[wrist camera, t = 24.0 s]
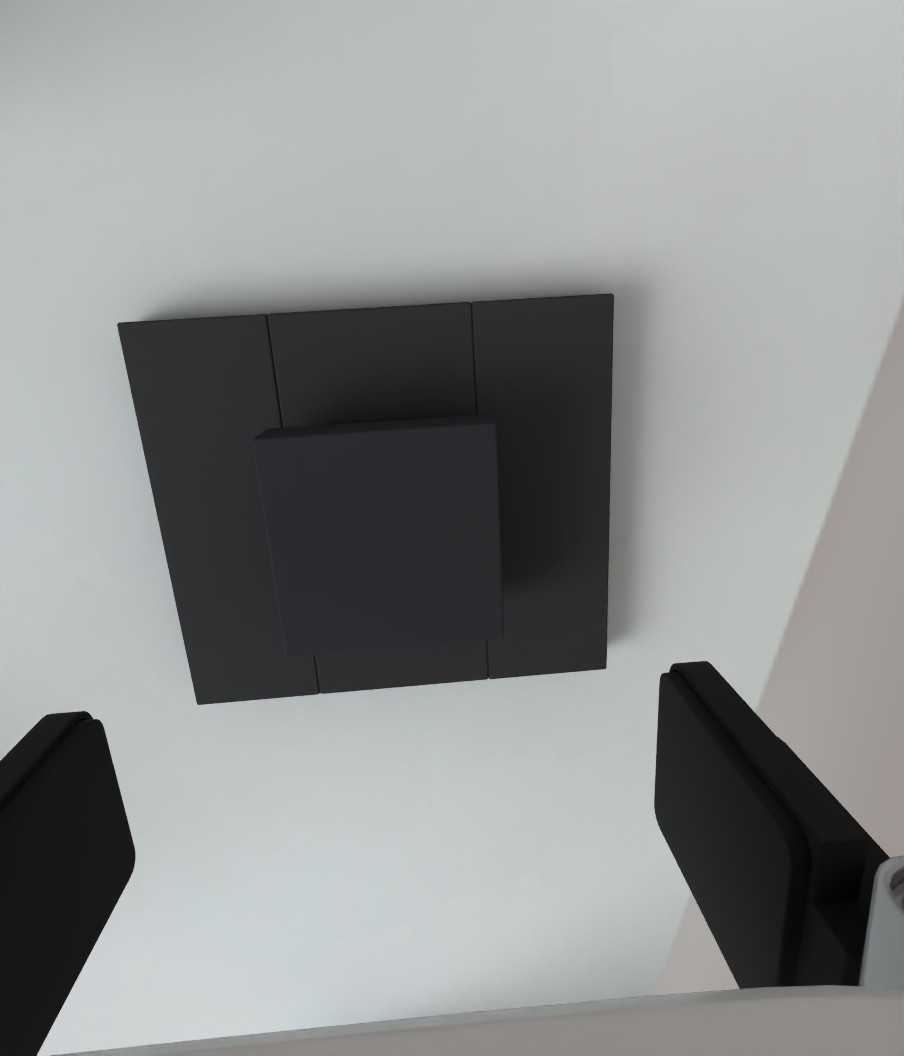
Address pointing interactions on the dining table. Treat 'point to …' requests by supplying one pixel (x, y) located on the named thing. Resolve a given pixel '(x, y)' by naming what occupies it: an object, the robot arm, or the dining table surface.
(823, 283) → the dining table surface
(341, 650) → the plug pad
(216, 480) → the base pad
